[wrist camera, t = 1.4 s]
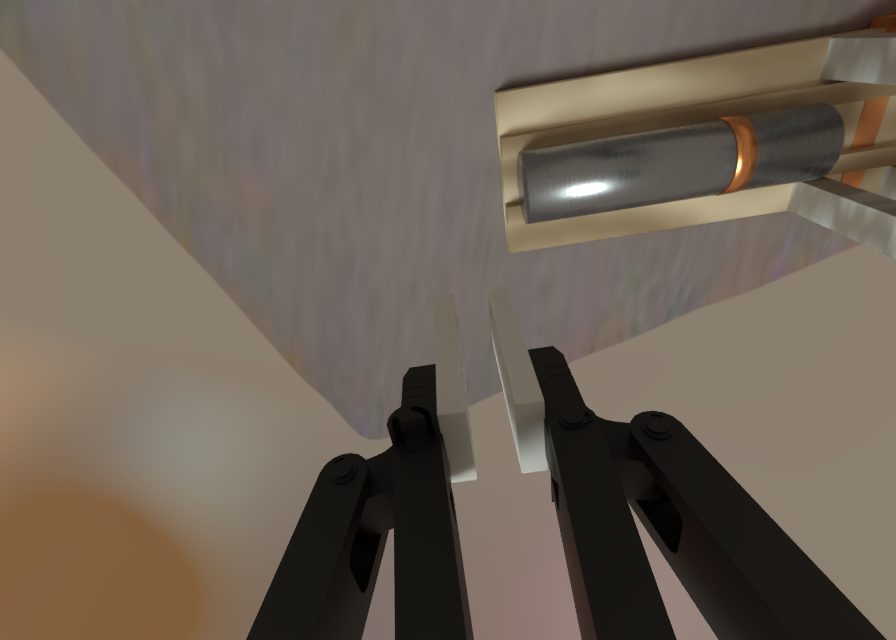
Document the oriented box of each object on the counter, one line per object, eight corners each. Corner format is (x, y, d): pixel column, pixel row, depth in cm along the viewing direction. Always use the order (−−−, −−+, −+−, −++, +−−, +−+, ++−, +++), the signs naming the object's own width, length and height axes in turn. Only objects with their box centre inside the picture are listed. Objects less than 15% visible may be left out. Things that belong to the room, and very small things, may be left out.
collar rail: (493, 82, 32) (523, 100, 22) (986, -2, 30) (1264, -24, 20) (507, 247, 38) (535, 320, 28) (913, 184, 37) (1095, 237, 27)
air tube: (519, 212, 35) (532, 235, 31) (514, 144, 33) (528, 159, 28) (780, 171, 34) (831, 189, 30) (797, 97, 32) (855, 106, 27)
